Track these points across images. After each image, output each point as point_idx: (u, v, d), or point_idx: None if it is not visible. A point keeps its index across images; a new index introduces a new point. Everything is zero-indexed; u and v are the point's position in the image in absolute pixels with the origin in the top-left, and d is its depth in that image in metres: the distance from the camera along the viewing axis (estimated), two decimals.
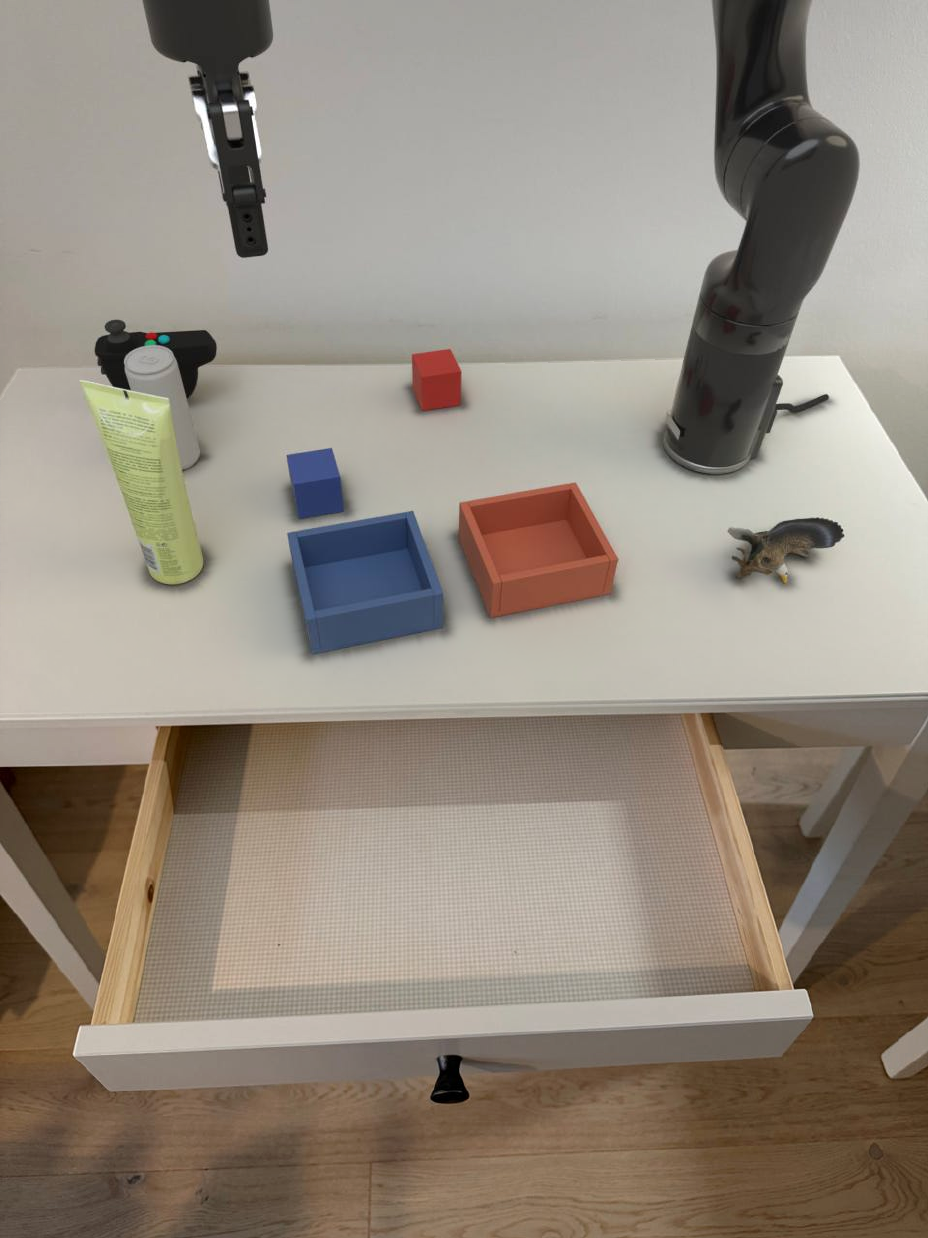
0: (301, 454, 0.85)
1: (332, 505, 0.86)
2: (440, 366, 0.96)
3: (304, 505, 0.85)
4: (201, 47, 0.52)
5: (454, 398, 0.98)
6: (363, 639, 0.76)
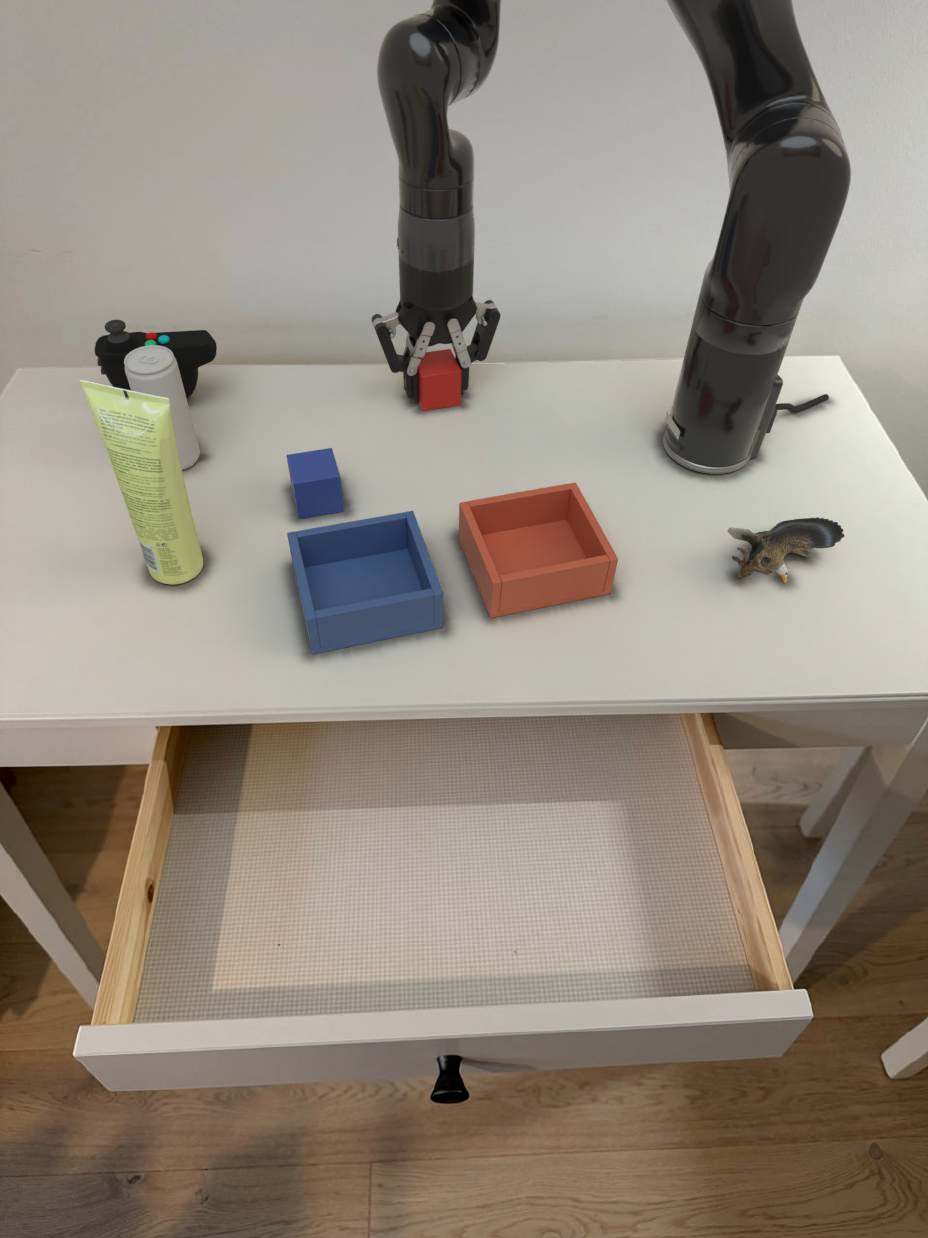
0: (301, 454, 0.85)
1: (332, 505, 0.86)
2: (440, 366, 0.96)
3: (304, 505, 0.85)
4: None
5: (454, 398, 0.98)
6: (363, 639, 0.76)
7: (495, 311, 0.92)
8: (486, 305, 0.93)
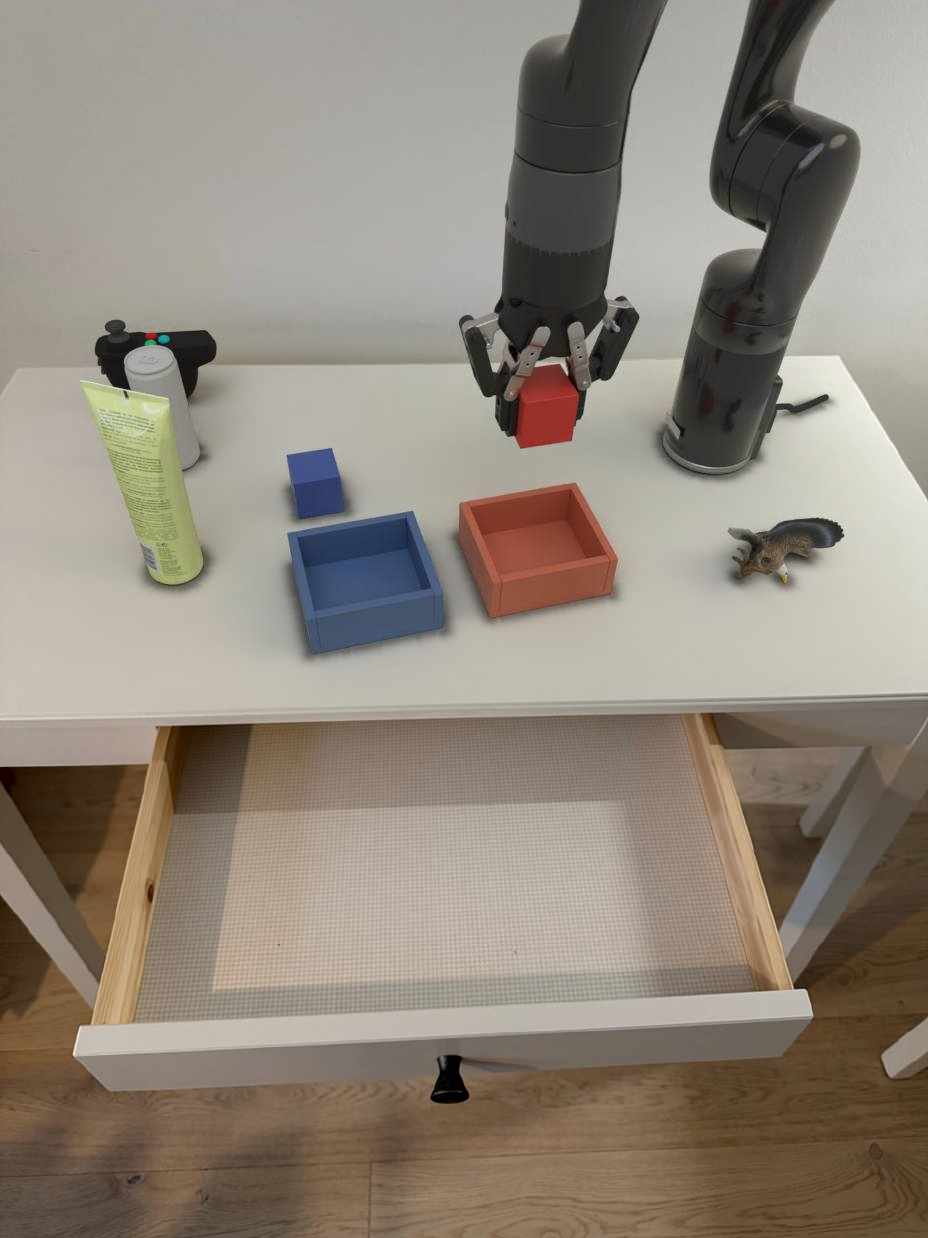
0: (301, 454, 0.85)
1: (332, 505, 0.86)
2: (549, 389, 0.69)
3: (304, 505, 0.85)
4: None
5: (565, 432, 0.71)
6: (363, 639, 0.76)
7: (633, 312, 0.65)
8: (619, 303, 0.66)
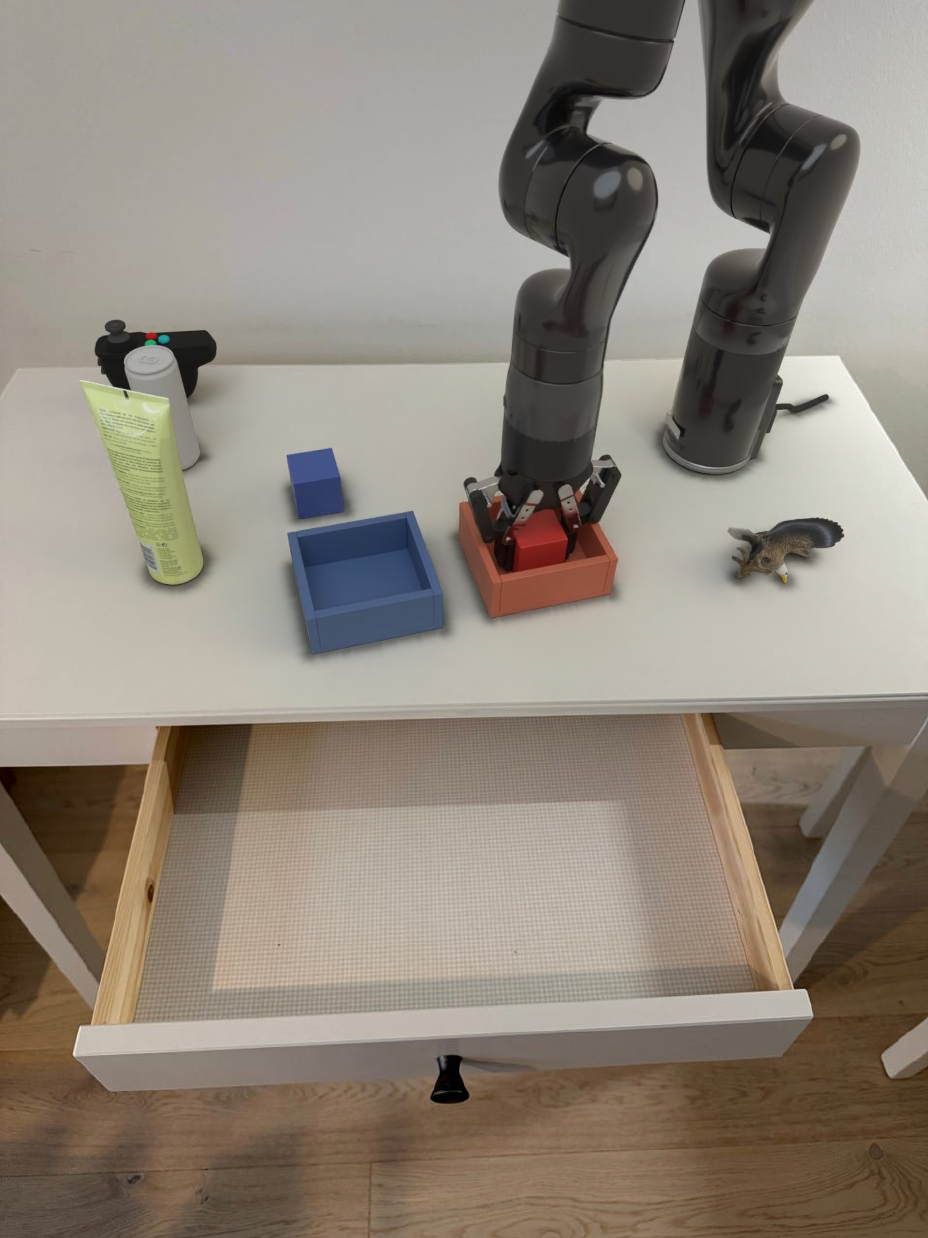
0: (301, 454, 0.85)
1: (332, 505, 0.86)
2: (541, 533, 0.78)
3: (304, 505, 0.85)
4: (501, 445, 0.72)
5: None
6: (363, 639, 0.76)
7: (615, 471, 0.75)
8: (603, 463, 0.75)
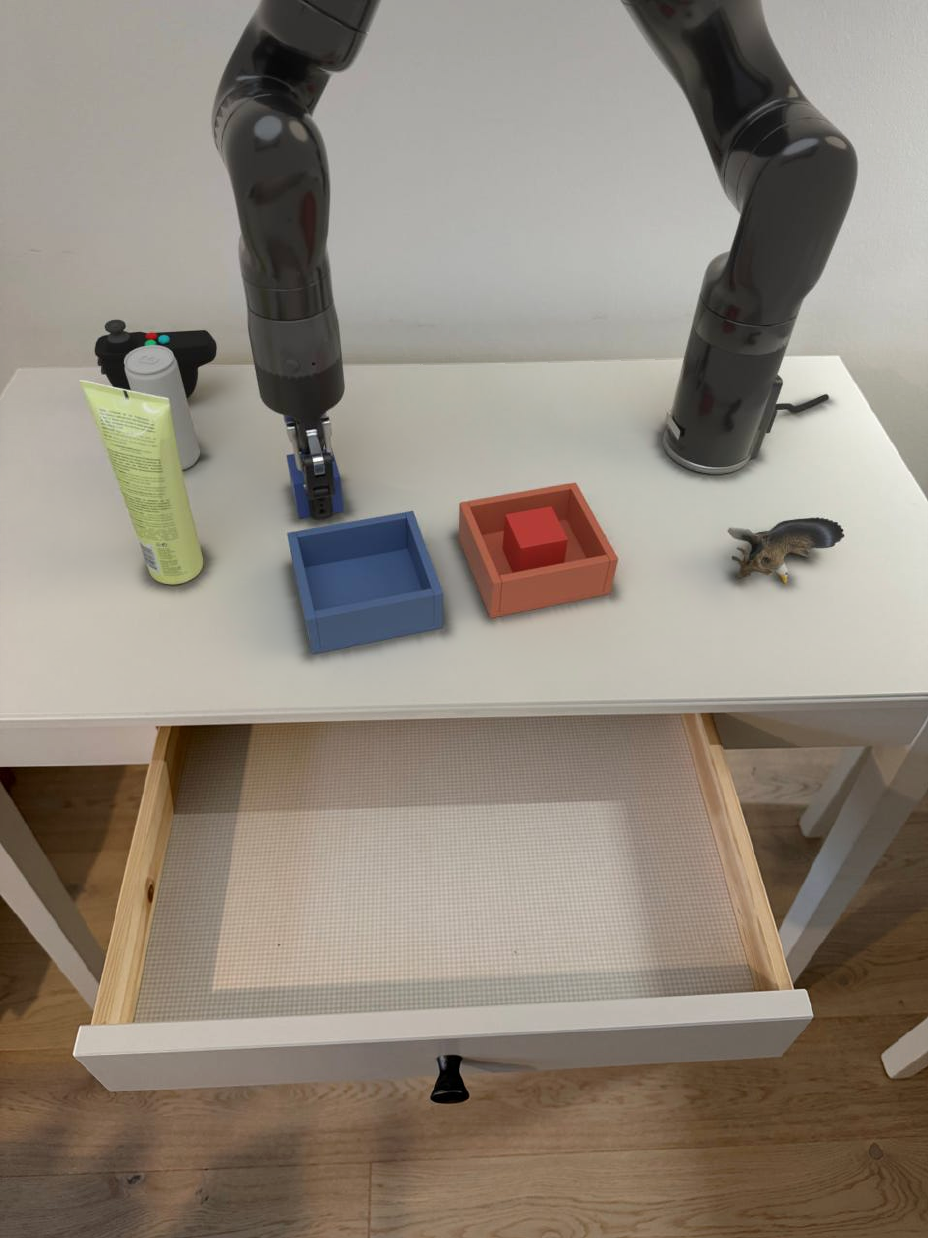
0: (301, 454, 0.85)
1: (332, 505, 0.86)
2: (541, 533, 0.78)
3: (304, 505, 0.85)
4: (297, 409, 0.75)
5: None
6: (363, 639, 0.76)
7: None
8: None
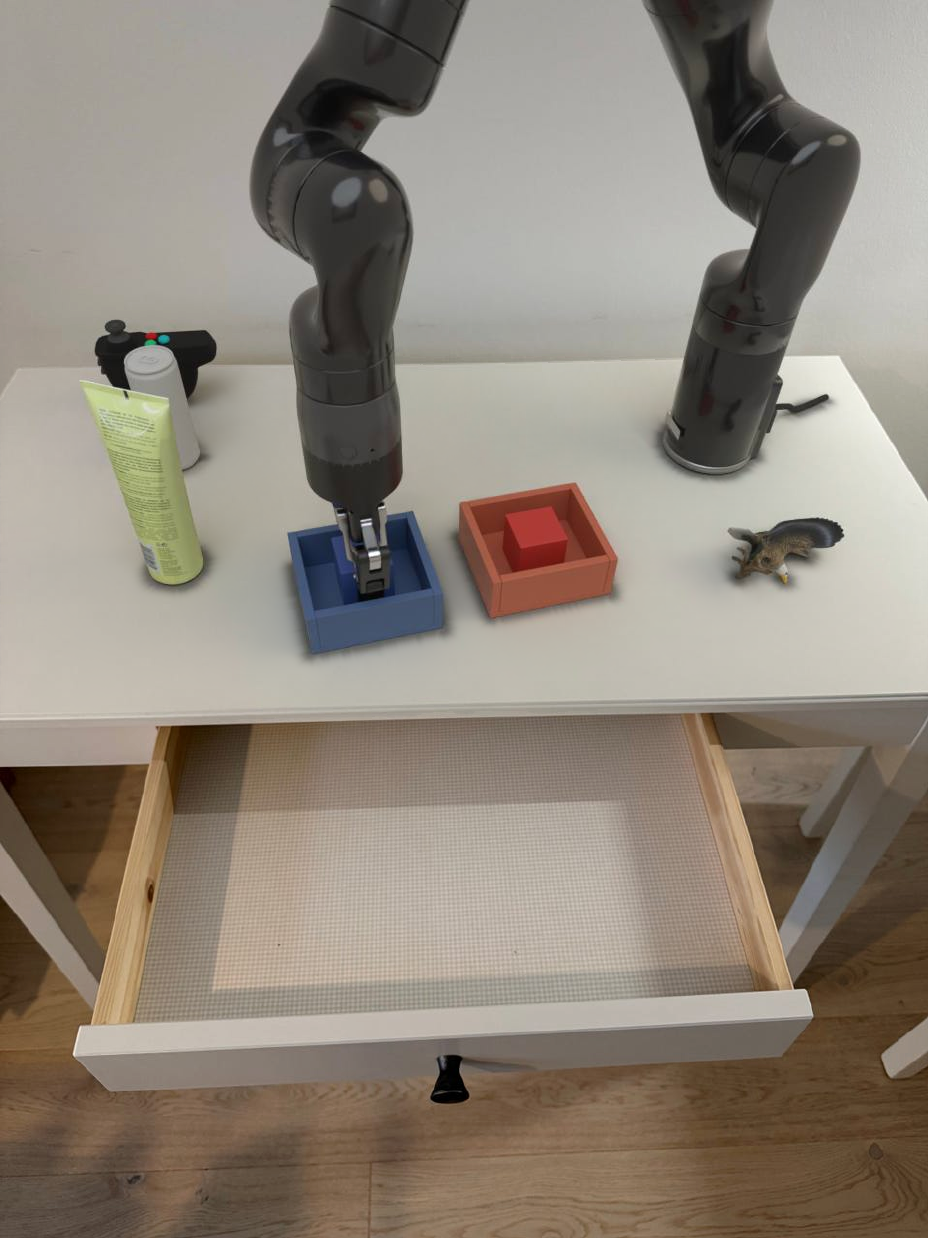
0: None
1: None
2: (541, 533, 0.78)
3: (351, 595, 0.75)
4: (351, 499, 0.66)
5: None
6: (363, 639, 0.76)
7: None
8: None
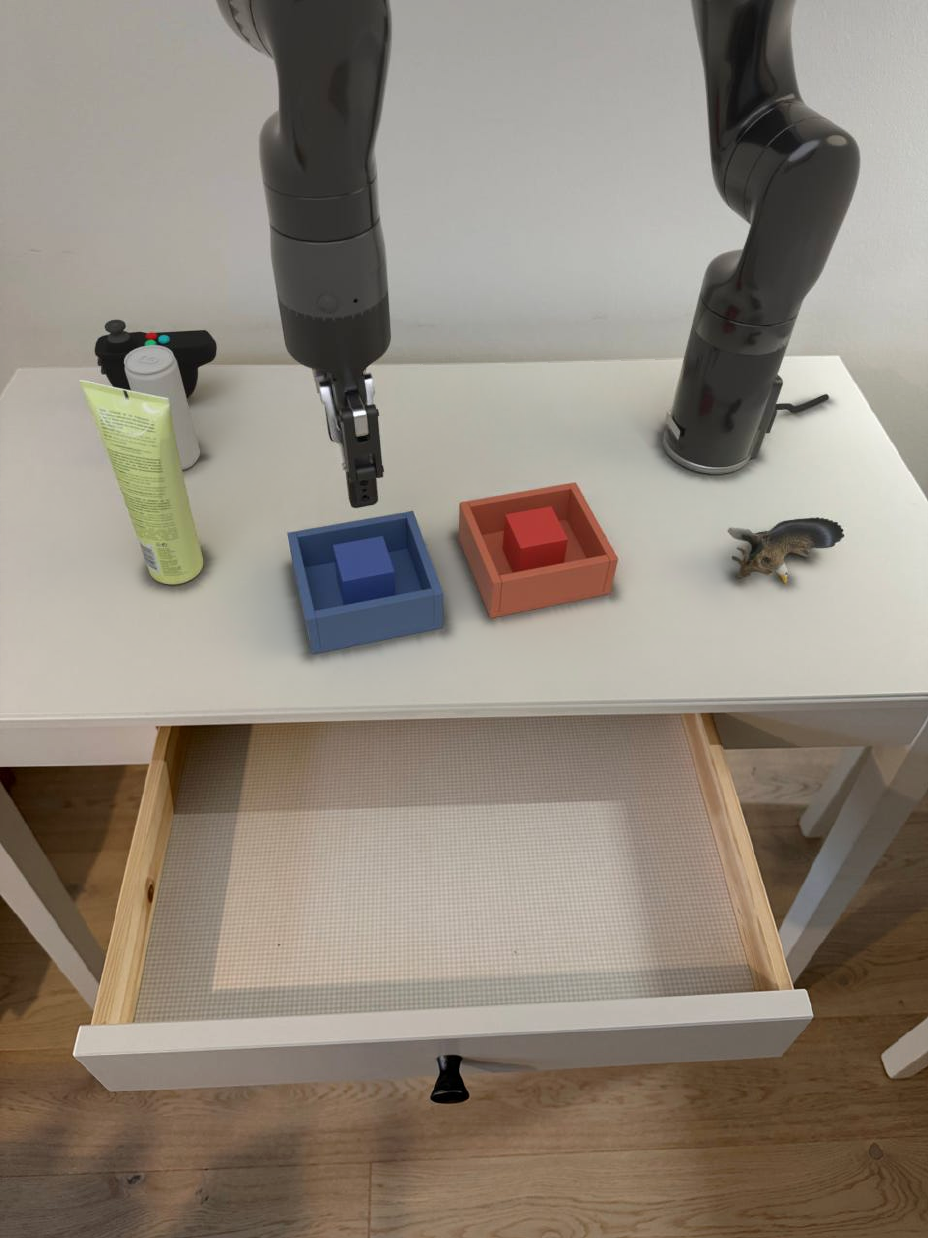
0: (349, 544, 0.77)
1: None
2: (541, 533, 0.78)
3: (353, 602, 0.76)
4: (334, 362, 0.59)
5: None
6: (363, 639, 0.76)
7: None
8: None
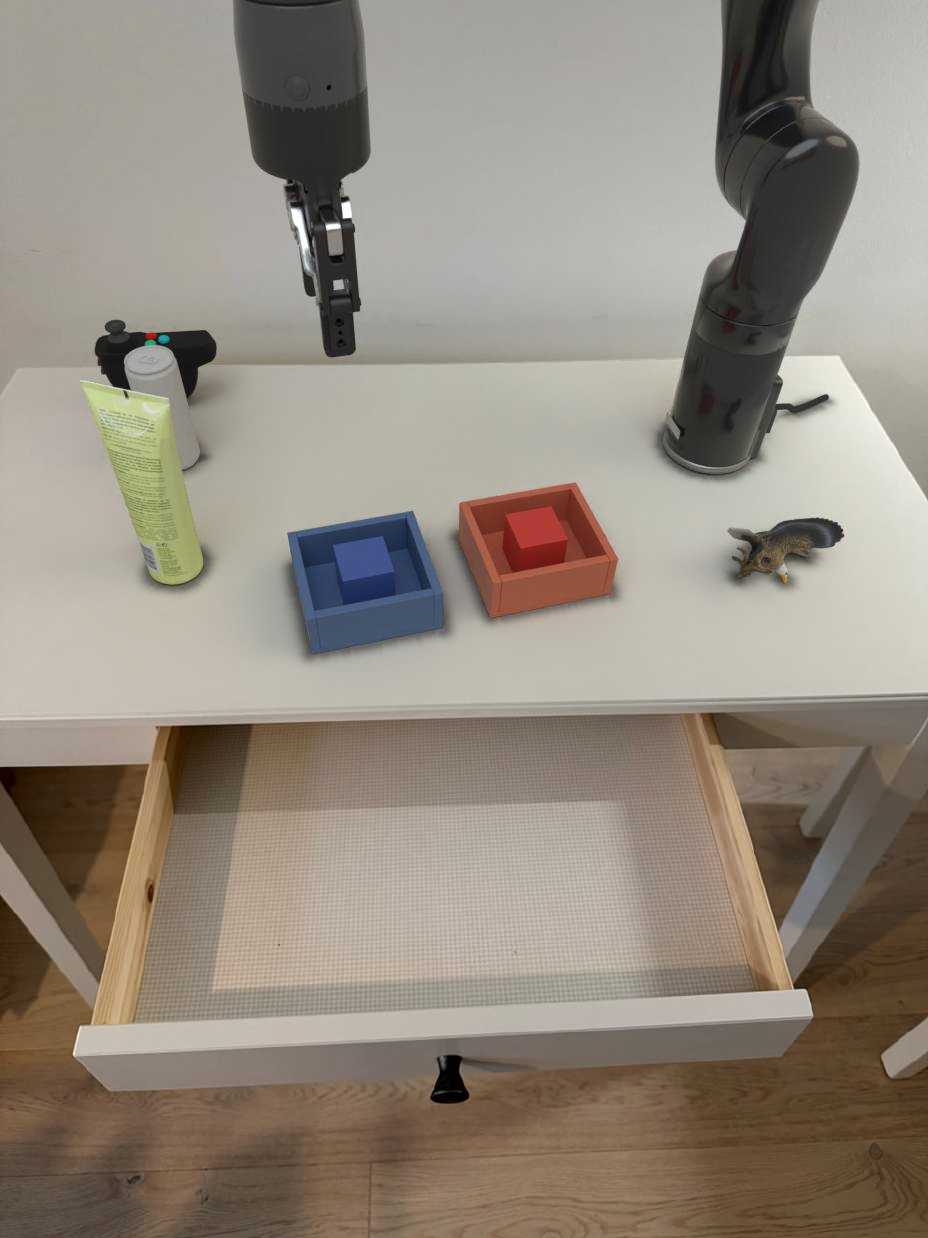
0: (349, 544, 0.77)
1: None
2: (541, 533, 0.78)
3: (353, 602, 0.76)
4: (305, 167, 0.53)
5: None
6: (363, 639, 0.76)
7: None
8: None
